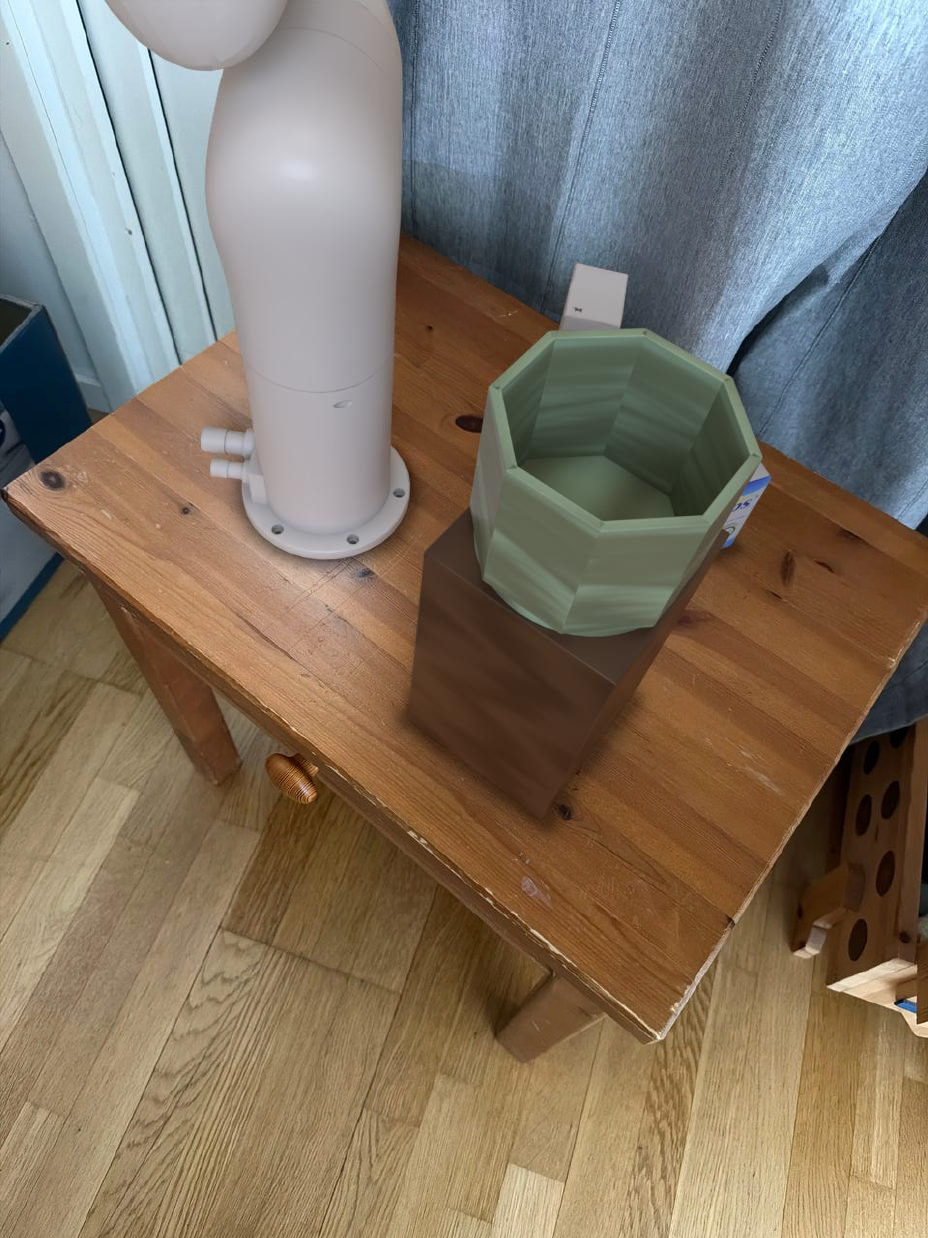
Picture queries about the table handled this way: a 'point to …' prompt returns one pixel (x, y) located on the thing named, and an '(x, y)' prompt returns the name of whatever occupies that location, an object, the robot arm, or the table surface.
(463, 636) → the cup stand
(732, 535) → the medicine box
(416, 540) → the table surface
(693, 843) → the table surface
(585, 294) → the cosmetic box
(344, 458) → the robot arm
